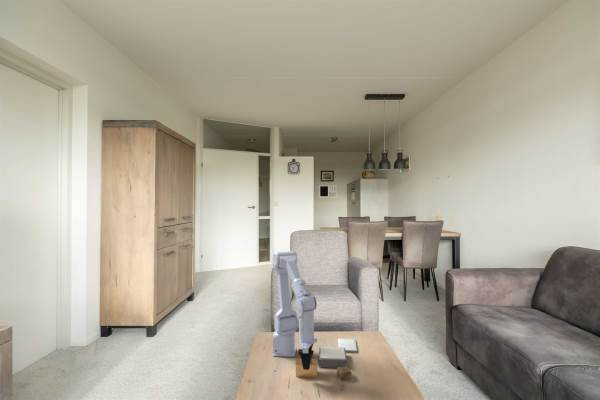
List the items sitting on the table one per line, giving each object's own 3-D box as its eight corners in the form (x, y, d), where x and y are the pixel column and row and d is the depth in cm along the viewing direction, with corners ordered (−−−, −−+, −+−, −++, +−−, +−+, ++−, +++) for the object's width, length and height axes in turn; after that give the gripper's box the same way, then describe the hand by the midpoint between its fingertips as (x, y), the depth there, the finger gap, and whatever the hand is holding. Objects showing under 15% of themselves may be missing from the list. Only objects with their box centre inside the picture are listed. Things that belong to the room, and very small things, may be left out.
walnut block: (341, 381, 109) (341, 373, 110) (337, 375, 113) (337, 367, 113) (351, 379, 110) (351, 371, 111) (346, 374, 114) (346, 366, 114)
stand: (319, 367, 119) (318, 358, 119) (319, 354, 130) (319, 346, 130) (346, 368, 118) (346, 359, 118) (345, 354, 129) (344, 346, 129)
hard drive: (357, 350, 131) (355, 338, 143) (338, 349, 132) (337, 337, 144) (357, 354, 131) (355, 342, 143) (338, 353, 132) (337, 341, 144)
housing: (295, 377, 112) (295, 363, 113) (296, 371, 116) (296, 358, 117) (317, 378, 112) (317, 364, 112) (317, 372, 116) (317, 359, 116)
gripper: (316, 335, 107) (316, 374, 107) (317, 321, 122) (317, 355, 121) (296, 335, 108) (297, 373, 107) (300, 320, 122) (300, 354, 122)
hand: (306, 363), depth 114 cm, fingers open, 7 cm apart
